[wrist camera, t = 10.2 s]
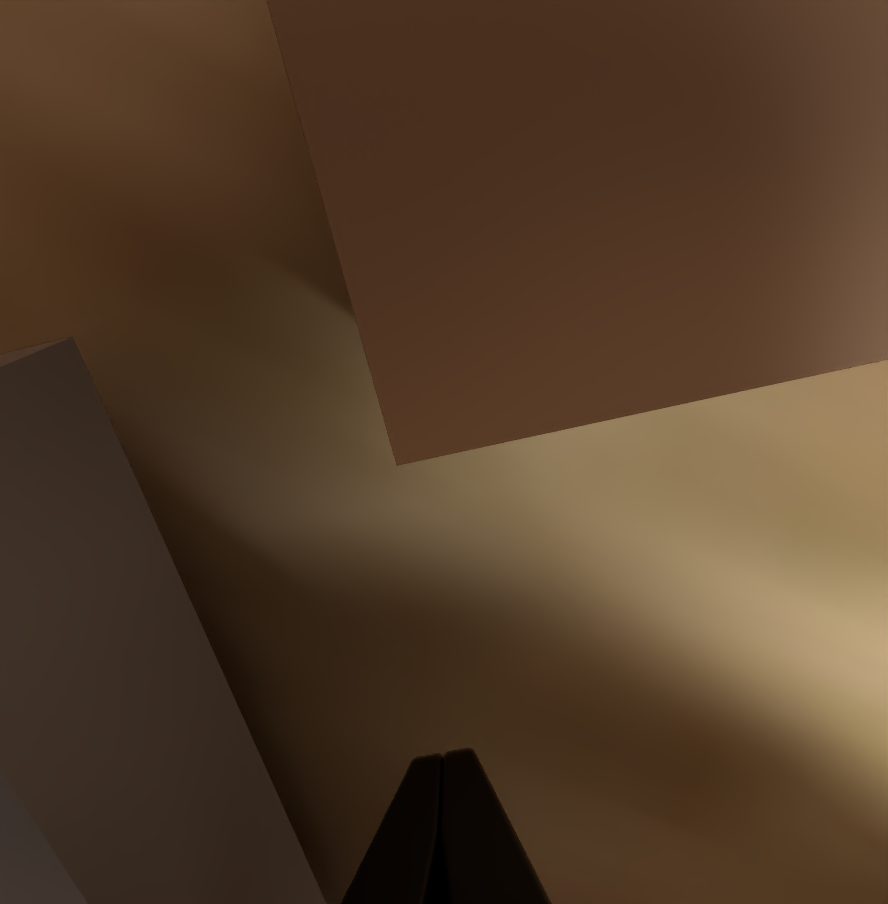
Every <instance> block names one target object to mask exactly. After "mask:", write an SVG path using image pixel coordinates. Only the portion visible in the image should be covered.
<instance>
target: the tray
mask: <svg viewBox="0 0 888 904" xmlns="http://www.w3.org/2000/svg"><path fill="white" fill-rule="evenodd" d="M0 904H326V901H325V899H324V897H323V895H322V892H321V890H320V888H319V886H318V883H317V881H316V879H315V877H314V874H313V872H312V870H311V868H310V866H309V863H308V861H307V859H306V857H305V854H304V852H303V850H302V848H301V845H300V843H299V841H298V839H297V837H296V834H295V832H294V830H293V828H292V825H291V823H290V821H289V819H288V816H287V814H286V812H285V810H284V807H283V805H282V803H281V801H280V799H279V796H278V794H277V792H276V790H275V787H274V785H273V783H272V781H271V778H270V776H269V774H268V772H267V770H266V767H265V765H264V763H263V761H262V758H261V756H260V754H259V752H258V749H257V747H256V745H255V743H254V741H253V738H252V736H251V734H250V732H249V729H248V727H247V725H246V723H245V720H244V718H243V716H242V714H241V711H240V709H239V707H238V705H237V703H236V700H235V698H234V696H233V694H232V691H231V689H230V687H229V685H228V682H227V680H226V678H225V676H224V674H223V671H222V669H221V667H220V665H219V662H218V660H217V658H216V656H215V653H214V651H213V649H212V647H211V644H210V642H209V640H208V638H207V636H206V633H205V631H204V629H203V627H202V624H201V622H200V620H199V618H198V615H197V613H196V611H195V609H194V607H193V604H192V602H191V600H190V598H189V595H188V593H187V591H186V589H185V586H184V584H183V582H182V580H181V578H180V575H179V573H178V571H177V569H176V566H175V564H174V562H173V560H172V557H171V555H170V553H169V551H168V548H167V546H166V544H165V542H164V540H163V537H162V535H161V533H160V531H159V528H158V526H157V524H156V522H155V519H154V517H153V515H152V513H151V511H150V508H149V506H148V504H147V502H146V499H145V497H144V495H143V493H142V490H141V488H140V486H139V484H138V482H137V479H136V477H135V475H134V473H133V470H132V468H131V466H130V464H129V461H128V459H127V457H126V455H125V452H124V450H123V448H122V446H121V444H120V441H119V439H118V437H117V435H116V432H115V430H114V428H113V426H112V423H111V421H110V419H109V417H108V415H107V412H106V410H105V408H104V406H103V403H102V401H101V399H100V397H99V394H98V392H97V390H96V388H95V385H94V383H93V381H92V379H91V377H90V374H89V372H88V370H87V368H86V365H85V363H84V361H83V359H82V356H81V354H80V352H79V350H78V348H77V345H76V343H75V341H74V339H73V337H69V338H65V339H61V340H57V341H53V342H49V343H44V344H40V345H36V346H32V347H28V348H24V349H19V350H15V351H11V352H7V353H3V354H0Z"/></svg>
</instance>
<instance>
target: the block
mask: <svg viewBox="0 0 888 904" xmlns="http://www.w3.org/2000/svg"><path fill="white" fill-rule="evenodd" d="M267 4H268V8H269V11H270V15H271V18H272V22H273V25H274V29H275V33H276V36H277V40H278V43H279V47H280V50H281V54H282V58H283V61H284V65H285V68H286V72H287V75H288V79H289V83H290V86H291V90H292V93H293V97H294V100H295V104H296V108H297V111H298V115H299V118H300V122H301V125H302V129H303V133H304V136H305V140H306V143H307V147H308V150H309V154H310V158H311V161H312V165H313V168H314V172H315V175H316V179H317V183H318V186H319V190H320V193H321V197H322V200H323V204H324V208H325V211H326V215H327V218H328V222H329V226H330V229H331V233H332V236H333V240H334V243H335V247H336V251H337V254H338V258H339V261H340V265H341V268H342V272H343V276H344V279H345V283H346V286H347V290H348V293H349V297H350V301H351V304H352V308H353V311H354V315H355V318H356V322H357V326H358V329H359V333H360V336H361V340H362V343H363V347H364V351H365V354H366V358H367V361H368V365H369V368H370V372H371V376H372V379H373V383H374V386H375V390H376V393H377V397H378V401H379V404H380V408H381V411H382V415H383V419H384V422H385V426H386V429H387V433H388V436H389V440H390V444H391V447H392V451H393V454H394V458H395V461H396V465H402V464H406V463H411V462H416V461H420V460H425V459H430V458H434V457H439V456H444V455H448V454H453V453H457V452H462V451H467V450H471V449H476V448H481V447H485V446H490V445H494V444H499V443H504V442H508V441H513V440H518V439H522V438H527V437H532V436H536V435H541V434H545V433H550V432H555V431H559V430H564V429H569V428H573V427H578V426H583V425H587V424H592V423H596V422H601V421H606V420H610V419H615V418H620V417H624V416H629V415H633V414H638V413H643V412H647V411H652V410H657V409H661V408H666V407H671V406H675V405H680V404H684V403H689V402H694V401H698V400H703V399H708V398H712V397H717V396H721V395H726V394H731V393H735V392H740V391H745V390H749V389H754V388H759V387H763V386H768V385H772V384H777V383H782V382H786V381H791V380H796V379H800V378H805V377H809V376H814V375H819V374H823V373H828V372H833V371H837V370H842V369H847V368H851V367H856V366H860V365H865V364H870V363H874V362H879V361H884V360H888V0H267Z"/></svg>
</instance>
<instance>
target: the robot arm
mask: <svg viewBox="0 0 888 904" xmlns="http://www.w3.org/2000/svg"><path fill="white" fill-rule="evenodd" d="M341 904H551V902H550V900H549V898H548V896H547V894H546V892H545V890H544V888H543V886H542V884H541V882H540V880H539V878H538V876H537V874H536V872H535V870H534V868H533V866H532V864H531V862H530V860H529V858H528V856H527V854H526V852H525V850H524V848H523V846H522V844H521V842H520V840H519V838H518V836H517V834H516V832H515V830H514V828H513V826H512V824H511V822H510V820H509V818H508V816H507V814H506V812H505V811H504V809H503V807H502V805H501V803H500V801H499V799H498V797H497V795H496V793H495V791H494V789H493V787H492V785H491V783H490V781H489V779H488V777H487V775H486V773H485V771H484V769H483V767H482V765H481V763H480V761H479V759H478V757H477V755H476V753H475V751H474V750H473V749H472V748H465V749H459V750H453V751H448V752H446V753H445V755H444V756H443V755H442V754H439V753H436V754H431V755H425V756H419V757H416V758H414V759H413V760H412V762H411V764H410V766H409V768H408V770H407V772H406V774H405V776H404V778H403V780H402V782H401V784H400V786H399V788H398V790H397V792H396V794H395V796H394V798H393V800H392V802H391V804H390V806H389V808H388V810H387V812H386V814H385V816H384V818H383V820H382V822H381V824H380V826H379V828H378V830H377V832H376V834H375V836H374V838H373V840H372V842H371V844H370V846H369V848H368V850H367V852H366V854H365V856H364V858H363V860H362V862H361V864H360V866H359V868H358V870H357V872H356V874H355V876H354V878H353V880H352V882H351V884H350V886H349V888H348V890H347V892H346V894H345V896H344V898H343V900H342V902H341Z"/></svg>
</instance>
